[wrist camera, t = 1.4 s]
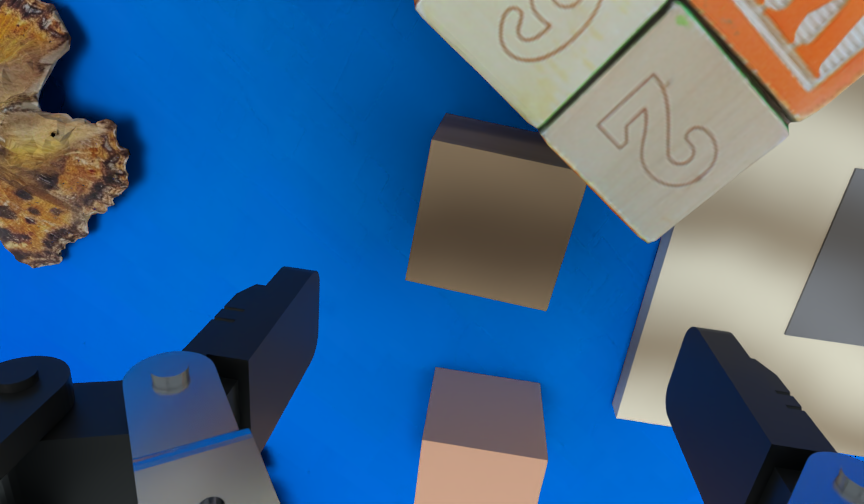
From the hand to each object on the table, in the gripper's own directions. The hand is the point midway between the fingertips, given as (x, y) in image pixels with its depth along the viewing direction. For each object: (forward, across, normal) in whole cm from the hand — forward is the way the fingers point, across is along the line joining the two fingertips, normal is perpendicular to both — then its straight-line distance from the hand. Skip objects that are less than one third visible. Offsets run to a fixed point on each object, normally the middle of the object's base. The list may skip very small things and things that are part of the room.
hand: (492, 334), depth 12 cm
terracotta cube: (+12, -1, +12) cm, 17 cm away
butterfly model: (+13, +17, +1) cm, 22 cm away
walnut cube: (+12, 0, 0) cm, 12 cm away
